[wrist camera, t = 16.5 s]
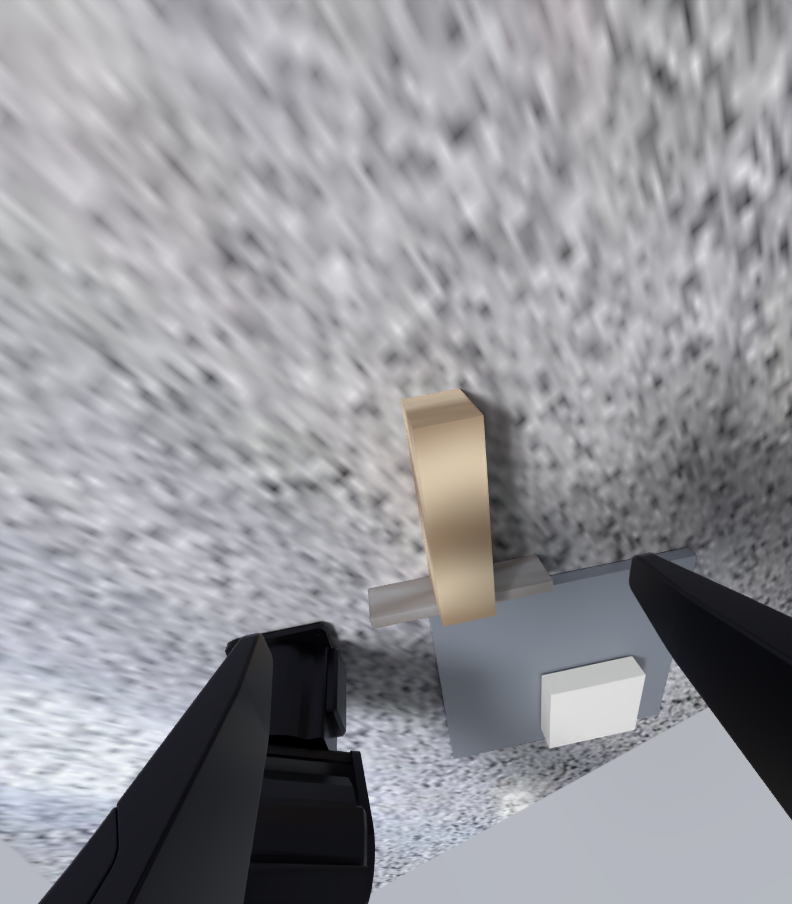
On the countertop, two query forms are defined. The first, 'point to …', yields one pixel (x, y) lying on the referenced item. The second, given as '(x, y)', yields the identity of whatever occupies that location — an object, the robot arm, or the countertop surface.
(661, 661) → the slate board
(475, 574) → the block
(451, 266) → the countertop surface
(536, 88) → the countertop surface
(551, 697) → the tile
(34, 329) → the countertop surface
